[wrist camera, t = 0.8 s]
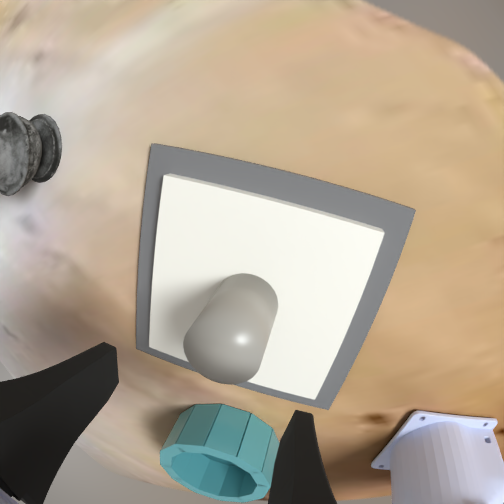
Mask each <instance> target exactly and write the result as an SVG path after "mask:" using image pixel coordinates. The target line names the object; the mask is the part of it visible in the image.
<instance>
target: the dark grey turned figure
mask: <svg viewBox="0 0 504 504" xmlns="http://www.w3.org/2000/svg"><path fill="white" fill-rule="evenodd" d="M61 151H62V142H61V135H60V131H59V128H58V126H57V124H56V122H55V121H54V120H53V119H52V118H51V117H50V116H48V115H45V114H40V115H37V116H34V117H33V118H32V119H31V120H30V121H29V120H27V119H25V118H23V117H21V116H18V115H16V114H14V113H13V112H6V113H4V114H2V115H0V193H1V194H3V195H6V196H10V195H14V194H15V193H16V192H18V191H19V190H20V188H22V187H23V186H24V185H25V184H27V183H28V182H29V181H30V180H31V179H32V180H33V181H35V182H45V181H47V180H49V179H50V178H51V177H52V176H53V175H54V173H55V172H56V170H57V168H58V166H59V163H60V158H61Z"/></svg>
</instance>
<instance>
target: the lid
mask: <svg viewBox="0 0 504 504" xmlns="http://www.w3.org/2000/svg"><path fill="white" fill-rule="evenodd" d="M383 236H384V231H383V230H382V229H381V228H378V227H375V226H371V225H368V224H365V223H361V222H358V221H355V220H351V219H348V218H345V217H341V216H338V215H334V214H331V213H327V212H324V211H320V210H317V209H313V208H309V207H306V206H302V205H298V204H295V203H291V202H287V201H283V200H280V199H276V198H272V197H268V196H264V195H260V194H256V193H252V192H248V191H244V190H240V189H236V188H232V187H228V186H224V185H219V184H215V183H211V182H206V181H202V180H198V179H193V178H189V177H184V176H180V175H175V174H171V173H170V174H166V175H164V177H163V184H162V191H161V199H160V207H159V216H158V224H157V234H156V243H155V254H154V266H153V278H152V293H151V310H150V332H149V347H151V348H153V349H156V350H158V351H161V352H163V353H166V354H168V355H171V356H174V357H176V358H179V359H182V360H184V361H187V362H189V363H190V364H191V366H192V367H193V368H194V369H195V370H196V371H197V372H198V373H200V374H201V375H203V376H204V377H206V378H208V379H210V380H212V381H215V382H218V383H222V384H240V383H243V382H246V381H247V382H251V383H254V384H257V385H261V386H264V387H268V388H271V389H275V390H279V391H282V392H286V393H290V394H294V395H297V396H301V397H305V398H310V399H314V400H315V399H316V397H317V395H318V393H319V391H320V389H321V387H322V385H323V383H324V381H325V378H326V376H327V374H328V372H329V370H330V368H331V366H332V364H333V362H334V359H335V357H336V355H337V353H338V351H339V348H340V346H341V344H342V342H343V339H344V337H345V335H346V333H347V330H348V328H349V326H350V323H351V321H352V318H353V316H354V314H355V311H356V309H357V306H358V304H359V301H360V299H361V296H362V294H363V291H364V289H365V286H366V283H367V281H368V278H369V276H370V273H371V270H372V267H373V265H374V262H375V259H376V256H377V254H378V251H379V248H380V245H381V242H382V239H383Z"/></svg>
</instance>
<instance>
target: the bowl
mask: <svg viewBox="0 0 504 504" xmlns="http://www.w3.org/2000/svg"><path fill="white" fill-rule="evenodd" d="M279 444H280V443H279V441H278V439H277V437H276V434H275V432H274V430H273V429H272V428H271V427H270V426H269V425H267V424H266V423H264V422H263V421H262V420H260V419H259V418H257V417H256V416H255V415H253V414H252V413H251V414H250V412H246V411H243V410H240V409H236V408H233V407H230V406H227V405H224V404H222V405H221V404H196V405H194V406H192V407H191V408H189V409H187V410H186V411H184V412H183V413H181V414H180V416H179V418H178V420H177V421H176V423H175V425H174V427H173V429H172V430H171V432H170V434H169V436H168V438H167V440H166V441H165V443H164V445H163V447H162V449H161V450H160V465H161V466H162V467H163V468H164V469H165V471H166V472H167V473H168V474H169V475H170V476H171V478H172V479H173V480H175V481H177V482H178V483H180V484H181V485H183V486H185V487H186V488H188V489H190V490H191V491H193V492H195V493H198V494H201V495H204V496H207V497H210V498H214V499H217V500H221V501H231V502H249V501H253V500H257V499H261V498H263V497H264V496H265V495H266V493H267V492H268V490H269V489H270V487H271V482H272V475H273V469H274V463H275V459H276V455H277V451H278V448H279Z"/></svg>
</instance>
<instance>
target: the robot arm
mask: <svg viewBox="0 0 504 504" xmlns="http://www.w3.org/2000/svg"><path fill="white" fill-rule="evenodd" d="M118 383H119V378H118V366H117V350H116V347H114V346H112V345H109V344H107V343H105V342H103V343H101V344H99V345H97V346H95V347H93V348H91V349H89V350H86V351H84V352H82V353H80V354H78V355H76V356H74V357H72V358H70V359H68V360H66V361H63V362H61V363H59V364H57V365H54V366H52V367H49V368H47V369H44V370H42V371H39V372H37V373H34V374H31V375H27V376H24V377H20V378H17V379H13V380H7V381H2V382H0V504H18V503H17V502H16V501H15V500H13V499H12V498H11V497H12V496H13V497H15V498H16V499H17V500H19V501H20V500H22V501H23V502H24V503H26V504H43V502H44V500H45V497H46V495H47V492H48V490H49V488H50V486H51V484H52V482H53V480H54V478H55V476H56V474H57V471H58V470H59V468H60V466H61V464H62V463H63V461H64V459H65V457H66V456H67V454H68V452H69V451H70V449H71V447H72V446H73V444H74V443H75V441H76V440H77V439H78V437H79V436H80V435H81V433H82V432H83V431H84V430H85V428H86V427H87V426H88V425H89V423H90V422H91V421H92V420H93V419H94V417H95V416H96V415H97V414H98V412H99V411H100V410H101V409H102V407H103V406H104V405H105V404H106V402H107V401H108V400H109V398H110V396H111V395H112V393H113V391H114V390H115V388H116V386H117V385H118ZM496 425H497V419H495V418H481V417H469V416H459V415H450V414H441V413H433V412H426V411H415V412H413V413H412V414H411V415H410V416H409V418H408V419H407V420H406V422H405V423H404V424H403V426H402V427H401V428H400V429H399V431H398V432H397V433H396V434H395V436H394V437H393V438H392V439H391V441H390V442H389V443H388V444H387V445H386V447H385V448H384V449H383V450H382V451H381V452H380V454H379V455H378V456H377V457H376V458H375V459H374V460H373V462H372V463H371V467H372V468H375V469H384V470H390V471H391V490H392V504H503V503H504V462H503V459H502V456H501V453H500V450H499V447H498V444H497V441H496V438H495V435H494V433H493V430H492V429H493V428H494V427H495V426H496ZM268 504H337V502H336V500H335V498H334V495H333V493H332V490H331V487H330V485H329V482H328V479H327V476H326V473H325V469H324V466H323V462H322V459H321V455H320V451H319V447H318V442H317V437H316V432H315V426H314V418H313V415H312V414H311V413H307V412H303V411H299V410H295V412H294V414H293V416H292V418H291V420H290V422H289V424H288V426H287V428H286V430H285V432H284V434H283V436H282V438H281V440H280V444H279V448H278V451H277V455H276V459H275V463H274V469H273V475H272V482H271V488H270V494H269V500H268Z"/></svg>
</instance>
